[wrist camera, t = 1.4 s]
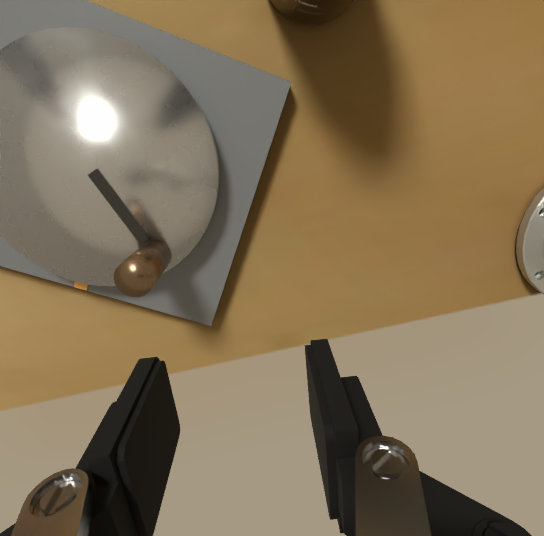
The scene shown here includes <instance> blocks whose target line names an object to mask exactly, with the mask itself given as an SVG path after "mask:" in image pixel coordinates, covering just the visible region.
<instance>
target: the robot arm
mask: <svg viewBox="0 0 544 536" xmlns="http://www.w3.org/2000/svg"><path fill="white" fill-rule="evenodd" d="M516 254H517V260H518V265H519V267H520V270H521V272H522V275H523V276H524V277H525V279H526V280H527V281H528V283H529V284H530V285H531V286H532V287H534V288H535V289H536V290H537V291H539V292H541V293H543V294H544V187H543V189H542V190H541V191H540V192H539V193H538V194H537V195H536V197H535V198H534V199H533V201H532V203H531V204H530V206H529V207H528V209H527V210H526V212H525V215H524V217H523V219H522V222H521V224H520V227H519V232H518V236H517V244H516ZM305 354H306V367H307V379H308V391H309V404H310V414H311V421H312V427H313V432H314V437H315V442H316V448H317V453H318V459H319V464H320V469H321V475H322V480H323V485H324V489H325V490H324V491H325V496H326V501H327V506H328V512H329V517H330V519H338V524H339V529H340V533H344V534H345V535H347V536H531V535H530V534H529V533H528V532H527V531H526V530H525V529H524V528H522V527H521V526H520V525H518V524H516V523H515V522H513V521H512V520H510V519H508V518H506V517H504V516H503V515H501V514H499V513H497V512H495V511H493V510H491V509H490V508H488V507H486V506H484V505H482V504H480V503H478V502H476V501H475V500H473V499H470V498H469V497H467V496H465V495H463V494H462V493H460V492H458V491H456V490H454V489H452V488H450V487H448V486H447V485H445V484H443V483H441V482H439V481H437V480H435V479H434V478H431V477H430V476H428V475H426V474H424V473H422V472H421V471H419V467H418V462H417V459H416V457H415V454H414V453H413V452H412V450H411V449H410V448H409V447H408V446H407V445H405V444H404V443H403V442H401V441H399V440H397V439H395V438H392V437H387V436H383V435H382V433H381V431H380V428H379V426H378V424H377V421H376V419H375V417H374V414H373V412H372V409H371V407H370V404H369V402H368V400H367V397H366V395H365V392H364V390H363V388H362V385H361V383H360V381H359V379H358V377H357V376H351V377H340V375H339V372H338V369H337V366H336V363H335V360H334V357H333V355H332V352H331V348H330V346H329V343H328V340H327V339H320V340H311V345H305ZM179 434H180V424H179V419H178V415H177V411H176V407H175V403H174V398H173V394H172V390H171V385H170V381H169V377H168V373H167V369H166V364H165V362H164V361H160V360H159V358H158V357H152V358H143V359H139V361H138V362H137V364H136V366H135V368H134V370H133V371H132V373H131V375H130V377H129V379H128V381H127V383H126V384H125V386H124V388H123V390H122V392H121V394H120V396H119V398H118V399H117V401H116V402H114V403H112V404H111V406H110V407H109V409H108V411H107V413H106V415H105V416H104V418H103V420H102V422H101V423H100V425H99V427H98V429H97V431H96V433H95V434H94V436H93V438H92V440H91V442H90V443H89V445H88V447H87V449H86V451H85V453H84V454H83V456H82V458H81V460H80V461H79V463H78V465H77V467H76V469H66V470H62V471H60V472H57V473H55V474H53V475H51V476H49V477H48V478H46V479H44V480H43V481H42V482H41V483H40V484H38V485H37V486H36V487H35V488H34V489H33V490H32V491H31V493H30V494H29V495H28V496H27V498H26V500H25V502H24V504H23V506H22V508H21V511H20V514H19V516H18V519H17V521H16V523H15V524H14V525H12V526H11V527H9V528H8V529H6V530H5V531H3V532H2V533H0V536H153V533H154V530H155V526H156V522H157V518H158V515H159V511H160V507H161V503H162V499H163V496H164V492H165V488H166V484H167V480H168V477H169V473H170V469H171V465H172V462H173V458H174V454H175V450H176V447H177V443H178V439H179Z"/></svg>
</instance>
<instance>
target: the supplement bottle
mask: <svg viewBox="0 0 544 536" xmlns="http://www.w3.org/2000/svg"><path fill="white" fill-rule="evenodd" d="M270 1H271V2H272V4H273V5H274V7H275V8H276V9H277V10H278V11H279V12H280V13H281V14H282V15H283V16H285V17H286V18H288V19H289V20H291V21H293V22H295V23H298V24H302V25H319V24H323V23H326V22H328V21H330V20H332V19H334V18H336V17H337V16H338V15H340V14H341V13H342V12H343V11H344V10H345V9H346V8H347V7H348V6H349V4H350V3H351V2H352V1H353V0H270Z"/></svg>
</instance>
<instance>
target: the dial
mask: <svg viewBox="0 0 544 536" xmlns="http://www.w3.org/2000/svg"><path fill="white" fill-rule="evenodd" d="M219 185H220V166H219V158H218V151H217V147H216V143H215V139H214V136H213V133H212V130H211V128H210V125H209V123H208V120H207V118H206V116H205V114H204V112H203V111H202V109H201V107H200V105H199V103H198V102H197V101H196V99H195V98H194V96H193V95H192V93H191V92H190V90H189V89H188V88H187V87H186V86H185V85H184V84H183V82H182V81H181V80H180V79H179V78H178V77H177V76H176V75H175V74H174V73H173V72H172V71H171V70H169V69H168V68H167V67H166V66H165V65H164V64H163V63H161V62H160V61H159V60H158V59H156V58H155V57H153V56H152V55H150V54H149V53H147V52H146V51H145V50H143V49H142V48H140V47H138V46H136V45H134V44H132V43H130V42H128V41H126V40H124V39H122V38H119V37H117V36H114V35H111V34H108V33H106V32H101V31H97V30H92V29H87V28H75V27H62V28H49V29H45V30H41V31H37V32H33V33H30V34H28V35H25V36H23V37H21V38H18V39H16V40H14V41H13V42H11V43H10V44H8V45H6V46H5V47H3V48H2V49H0V235H1V236H2V237H3V238H4V239H5V240H6V241H7V242H8V243H9V244H10V245H11V246H12V247H13V248H14V249H16V250H17V251H18V252H19V253H20V254H22V255H23V256H24V257H25V258H27V259H29V260H30V261H32V262H33V263H35V264H36V265H38V266H39V267H41V268H43V269H45V270H47V271H49V272H51V273H53V274H55V275H58V276H60V277H63V278H66V279H68V280H72V281H76V282H79V283H83V284H89V285H96V286H116V287H117V288H118V290H119V291H120V292H122V293H123V294H125V295H127V296H130V297H142V296H144V295H146V294H148V293H149V292H150V290H151V289H152V288H153V286H154V285H155V283H156V282H157V281H158V279H159V278H160V276H161V275H162V274H163V273H165V272H166V271H168V270H170V269H171V268H172V267H174V266H175V265H177V264H178V263H179V262H181V261H182V260H183V259H184V258H185V257H186V256H187V255H188V254H189V253H190V252H191V251H192V249H193V248H194V247H195V246H196V244H197V243H198V242H199V240H200V239H201V237H202V235H203V234H204V232H205V230H206V228H207V227H208V225H209V223H210V220H211V218H212V215H213V213H214V210H215V206H216V203H217V199H218V192H219Z"/></svg>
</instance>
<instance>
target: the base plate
mask: <svg viewBox="0 0 544 536" xmlns="http://www.w3.org/2000/svg"><path fill="white" fill-rule="evenodd" d="M62 27H75V28H87V29H92V30H97V31H101V32H106V33H108V34H111V35H114V36H117V37H119V38H122V39H124V40H126V41H128V42H130V43H132V44H134V45H136V46H138V47H140V48H142V49H143V50H145V51H146V52H147V53H149V54H150V55H152V56H153V57H155V58H156V59H158V60H159V61H160V62H161V63H163V64H164V65H165V66H166V67H167V68H168V69H169V70H171V71H172V72H173V73H174V74H175V75H176V76H177V77H178V78H179V79H180V80H181V81H182V82H183V84H184V85H185V86H186V87H187V88H188V89H189V90H190V92H191V93H192V95H193V96H194V98H195V99H196V101H197V102H198V103H199V105H200V107H201V109H202V111H203V112H204V114H205V116H206V118H207V120H208V123H209V125H210V128H211V130H212V133H213V136H214V139H215V143H216V147H217V151H218V158H219V166H220V185H219V192H218V199H217V203H216V206H215V210H214V213H213V215H212V218H211V220H210V223H209V225H208V227H207V228H206V230H205V232H204V234H203V235H202V237H201V239H200V240H199V242H198V243H197V244H196V246H195V247H194V248H193V249H192V251H191V252H190V253H189V254H188V255H187V256H186V257H185V258H184V259H183V260H182V261H181V262H179V263H178V264H177V265H175V266H174V267H172V268H171V269H170V270H168V271H166V272H165V273H163V274H162V275H161V276H160V278H159V279H158V281H157V282H156V283H155V285H154V286H153V288H152V289H151V290H150V292H149V293H148V294H146V295H144V296H142V297H130V296H127V295H125V294H123V293H122V292H120V291H119V290H118V288H117V287H116V286H96V285H89V284H83V283H79V282H76V281H72V280H68V279H66V278H63V277H60V276H58V275H55V274H53V273H51V272H49V271H47V270H45V269H43V268H41V267H39V266H38V265H36V264H35V263H33V262H32V261H30V260H29V259H27V258H25V257H24V256H23V255H22V254H20V253H19V252H18V251H17V250H16V249H14V248H13V247H12V246H11V245H10V244H9V243H8V242H7V241H6V240H5V239H4V238H3V237H2V236H1V235H0V266H2V267H5V268H9V269H12V270H16V271H19V272H23V273H26V274H30V275H33V276H37V277H40V278H44V279H47V280H51V281H54V282H58V283H61V284H65V285H68V286H72V287H75V288H79V289H82V290H86V291H89V292H93V293H96V294H100V295H103V296H107V297H110V298H114V299H117V300H121V301H124V302H128V303H132V304H135V305H139V306H142V307H146V308H149V309H153V310H156V311H160V312H163V313H167V314H170V315H174V316H177V317H181V318H184V319H188V320H191V321H195V322H198V323H202V324H205V325H209V326H211V325H212V322H213V319H214V316H215V313H216V310H217V307H218V304H219V301H220V298H221V295H222V292H223V288H224V285H225V282H226V279H227V276H228V273H229V270H230V267H231V264H232V261H233V258H234V255H235V252H236V249H237V246H238V243H239V240H240V237H241V234H242V231H243V228H244V225H245V222H246V219H247V216H248V213H249V210H250V206H251V203H252V200H253V197H254V194H255V191H256V188H257V185H258V182H259V179H260V176H261V173H262V170H263V167H264V164H265V161H266V158H267V155H268V152H269V149H270V146H271V143H272V140H273V137H274V134H275V131H276V128H277V124H278V121H279V118H280V115H281V112H282V109H283V106H284V103H285V100H286V97H287V94H288V91H289V88H290V85H291V82H290V81H288V80H285V79H283V78H280V77H278V76H275V75H273V74H270V73H268V72H265V71H263V70H260V69H258V68H255V67H252V66H250V65H247V64H245V63H242V62H240V61H237V60H235V59H232V58H230V57H227V56H225V55H222V54H220V53H217V52H215V51H212V50H210V49H207V48H205V47H202V46H200V45H197V44H195V43H192V42H190V41H187V40H185V39H182V38H180V37H177V36H175V35H172V34H170V33H167V32H165V31H162V30H160V29H157V28H155V27H152V26H150V25H147V24H145V23H142V22H140V21H137V20H134V19H132V18H129V17H127V16H124V15H122V14H119V13H117V12H114V11H112V10H109V9H107V8H104V7H102V6H99V5H97V4H94V3H92V2H89V1H87V0H0V49H2V48H3V47H5V46H6V45H8V44H10V43H11V42H13V41H14V40H16V39H18V38H21V37H23V36H25V35H28V34H30V33H33V32H37V31H41V30H45V29H49V28H62Z"/></svg>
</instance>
